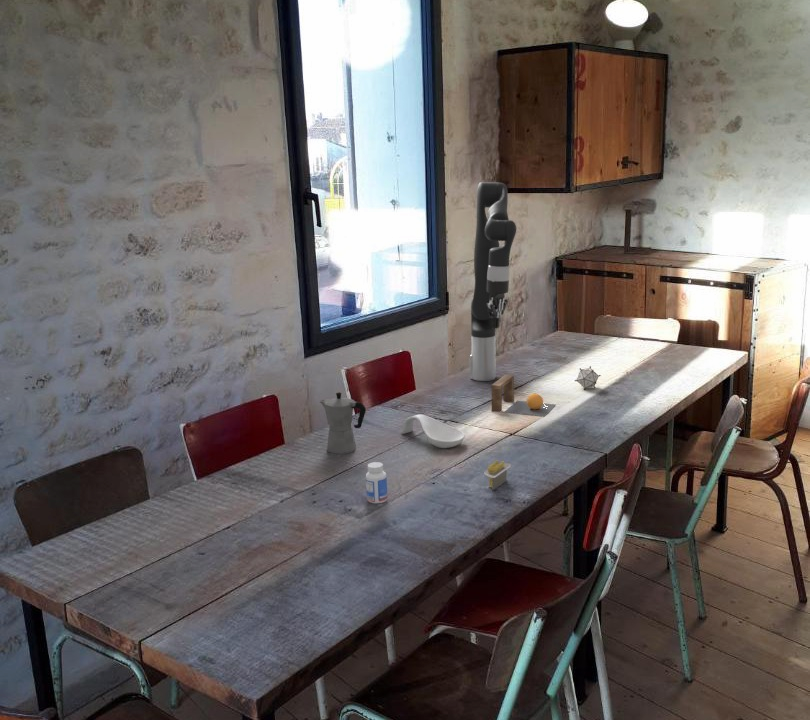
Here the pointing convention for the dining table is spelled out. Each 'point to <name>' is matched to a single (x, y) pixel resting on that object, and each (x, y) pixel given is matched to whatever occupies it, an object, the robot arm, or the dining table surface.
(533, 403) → the ball
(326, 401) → the coffeepot
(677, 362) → the dining table surface
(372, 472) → the pill bottle
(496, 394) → the bridge
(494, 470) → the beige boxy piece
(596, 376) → the game die
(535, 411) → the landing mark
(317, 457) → the dining table surface
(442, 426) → the spoon rest
